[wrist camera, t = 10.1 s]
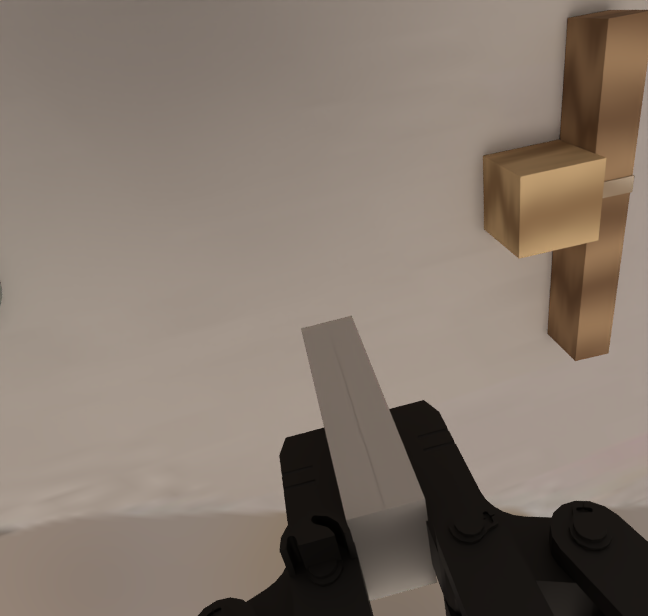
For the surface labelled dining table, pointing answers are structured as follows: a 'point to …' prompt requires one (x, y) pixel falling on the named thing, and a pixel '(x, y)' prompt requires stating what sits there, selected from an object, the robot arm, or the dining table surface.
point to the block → (543, 197)
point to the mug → (0, 293)
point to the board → (619, 149)
